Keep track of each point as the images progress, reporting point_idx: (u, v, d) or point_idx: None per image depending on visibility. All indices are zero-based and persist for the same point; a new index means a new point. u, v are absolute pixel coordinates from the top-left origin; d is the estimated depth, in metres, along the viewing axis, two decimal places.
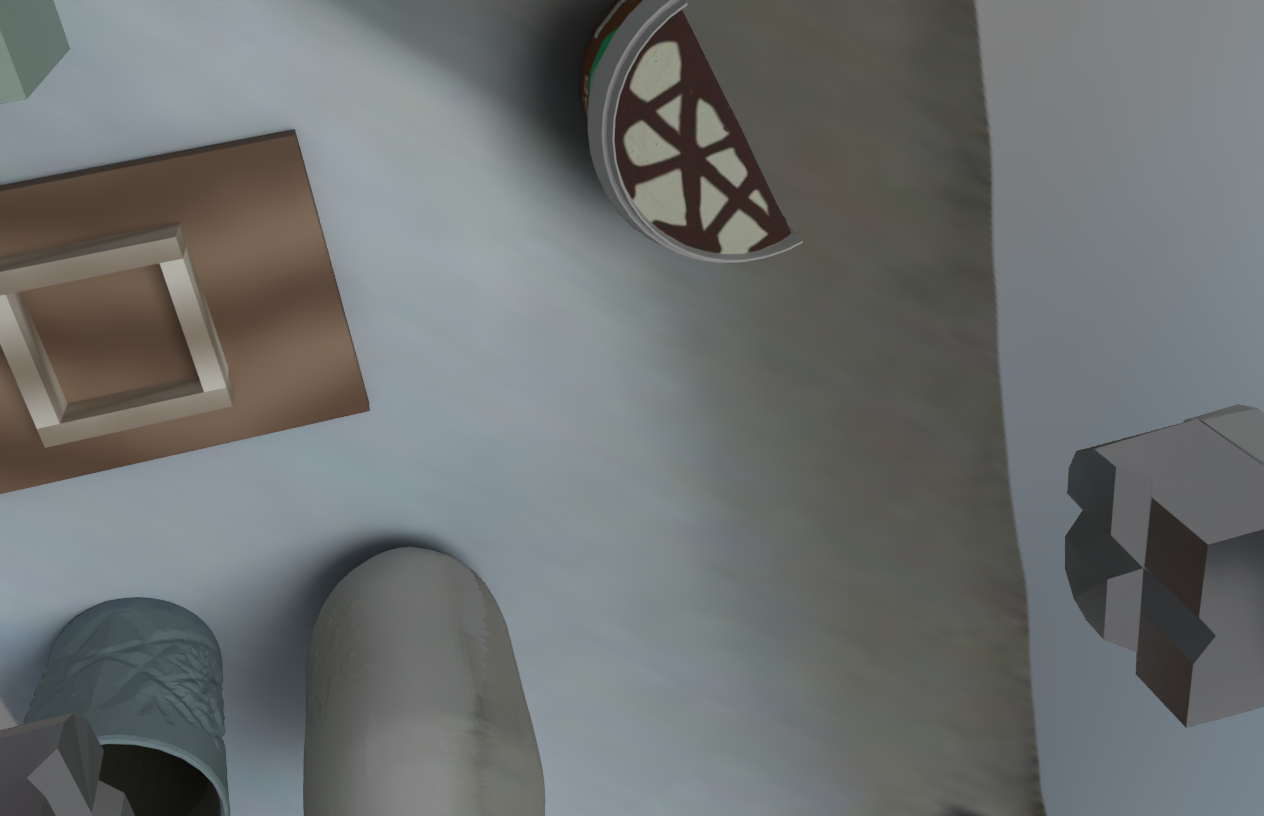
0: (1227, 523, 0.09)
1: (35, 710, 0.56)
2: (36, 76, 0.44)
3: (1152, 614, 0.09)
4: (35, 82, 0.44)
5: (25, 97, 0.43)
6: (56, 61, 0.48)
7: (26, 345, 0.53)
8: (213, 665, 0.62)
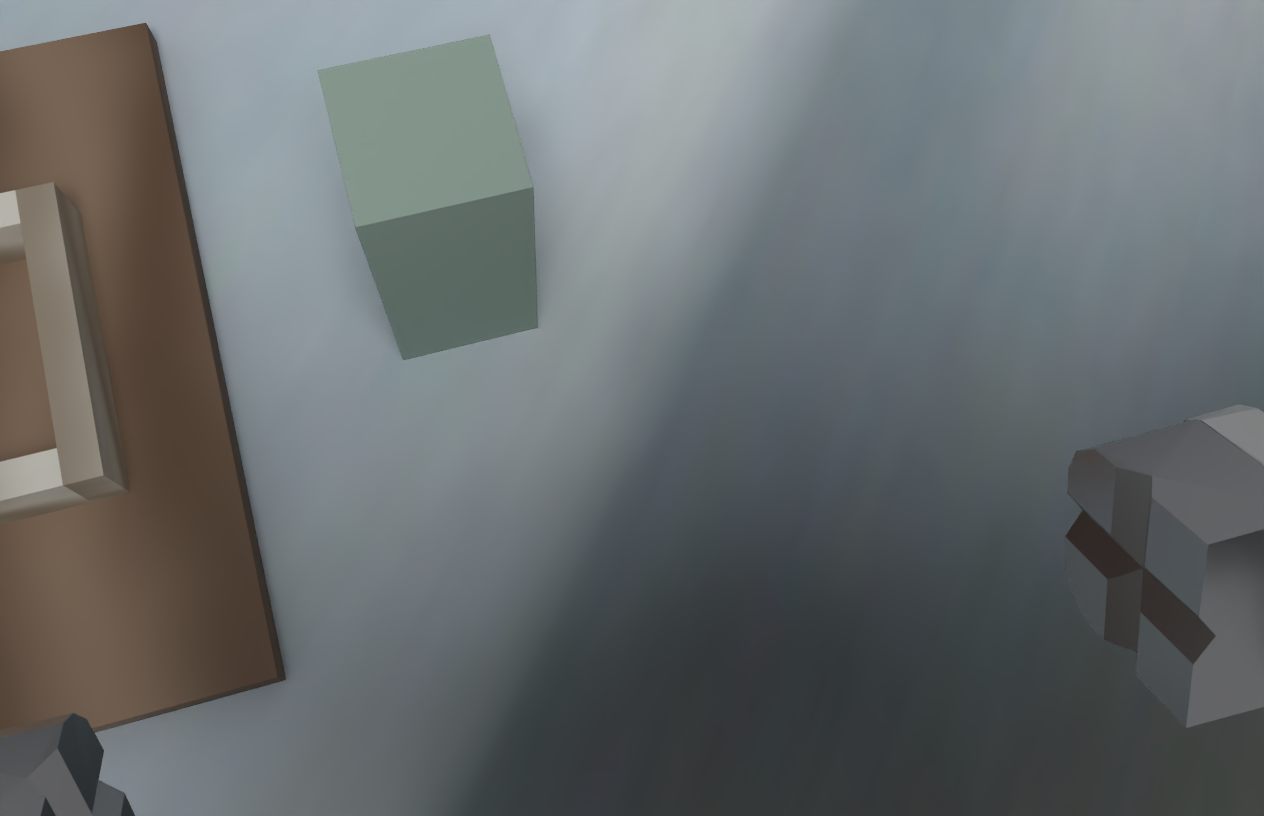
0: (1226, 523, 0.09)
1: None
2: (382, 267, 0.29)
3: (1152, 614, 0.09)
4: (374, 261, 0.28)
5: (357, 226, 0.26)
6: (393, 323, 0.32)
7: None
8: None
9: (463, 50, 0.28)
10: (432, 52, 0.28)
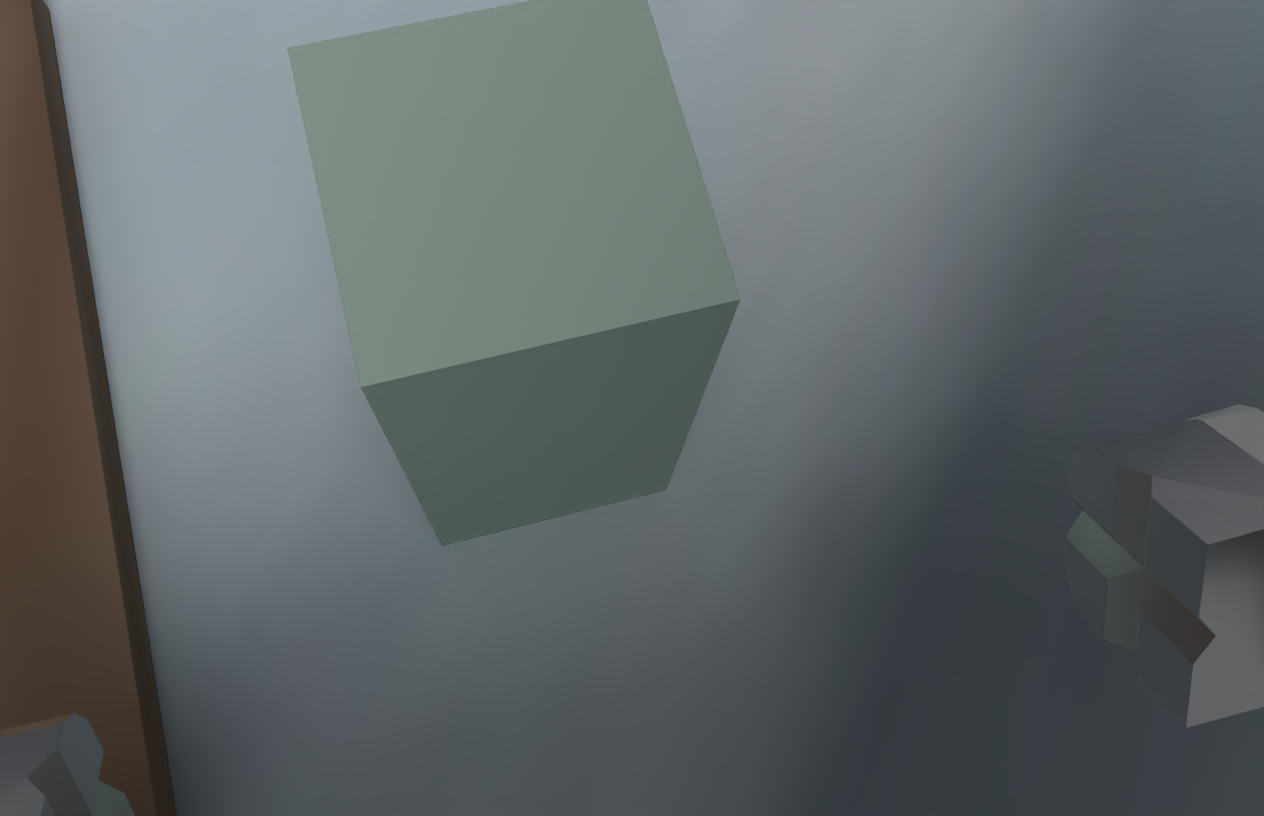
0: (1227, 523, 0.09)
1: None
2: (415, 441, 0.14)
3: (1152, 615, 0.09)
4: (400, 434, 0.14)
5: (366, 385, 0.12)
6: (429, 508, 0.18)
7: None
8: None
9: (589, 10, 0.14)
10: (525, 12, 0.14)
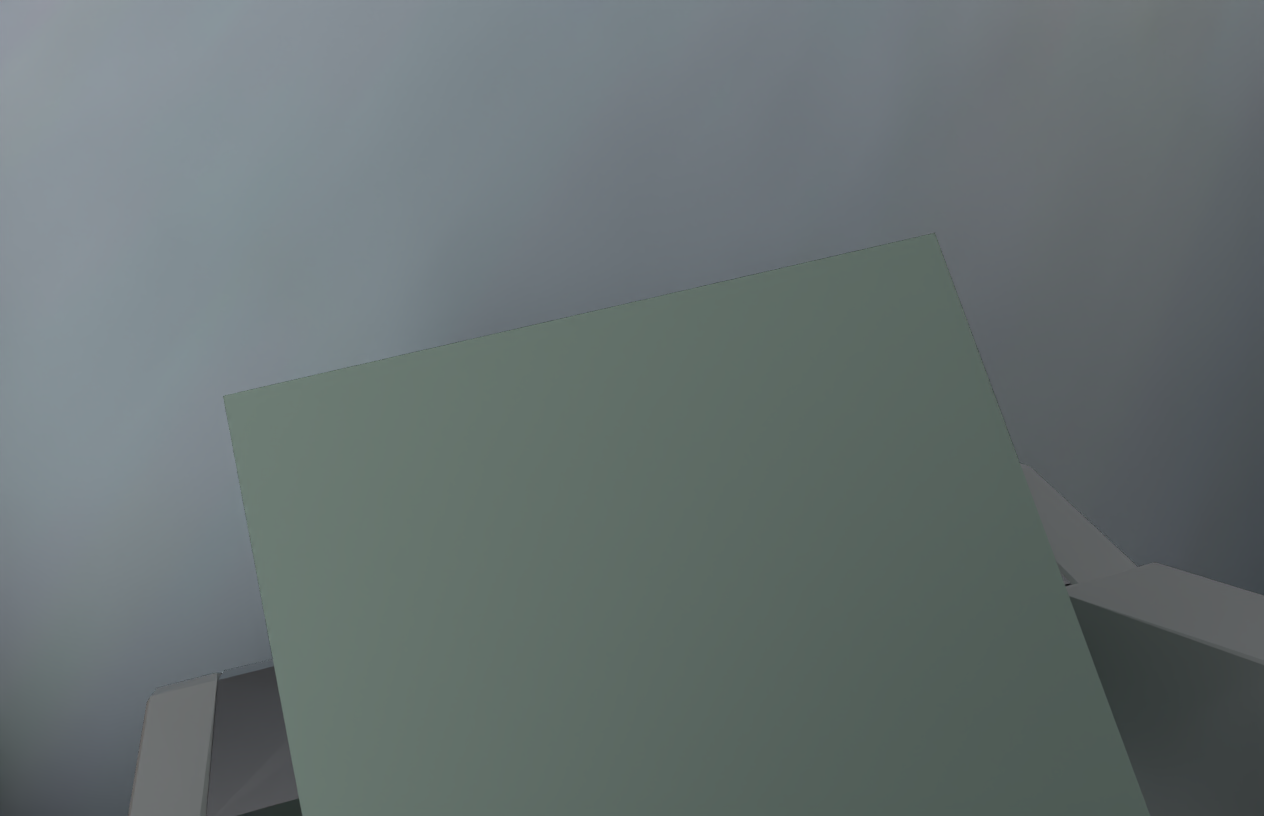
0: None
1: None
2: None
3: None
4: None
5: None
6: None
7: None
8: None
9: (837, 301, 0.07)
10: (712, 309, 0.07)
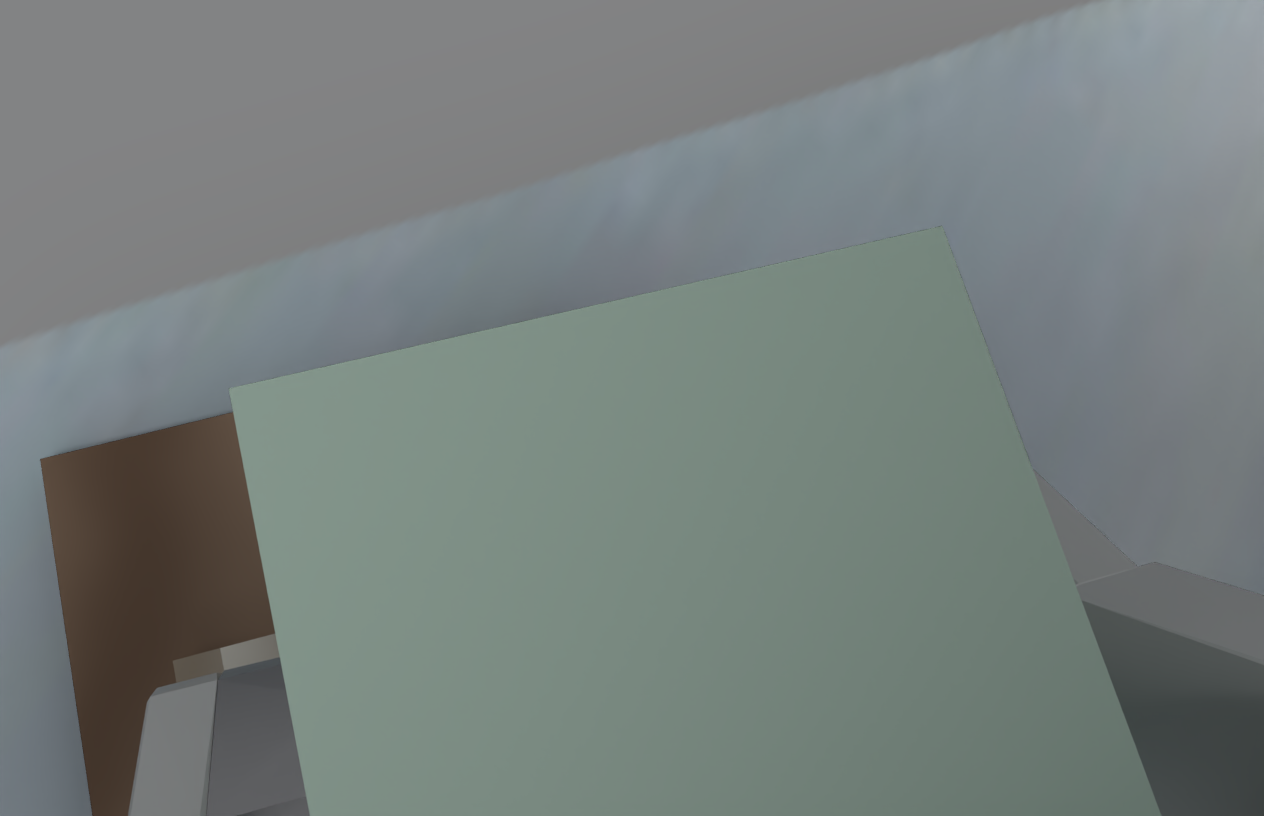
0: None
1: None
2: None
3: None
4: None
5: None
6: None
7: None
8: None
9: (845, 295, 0.07)
10: (719, 301, 0.07)
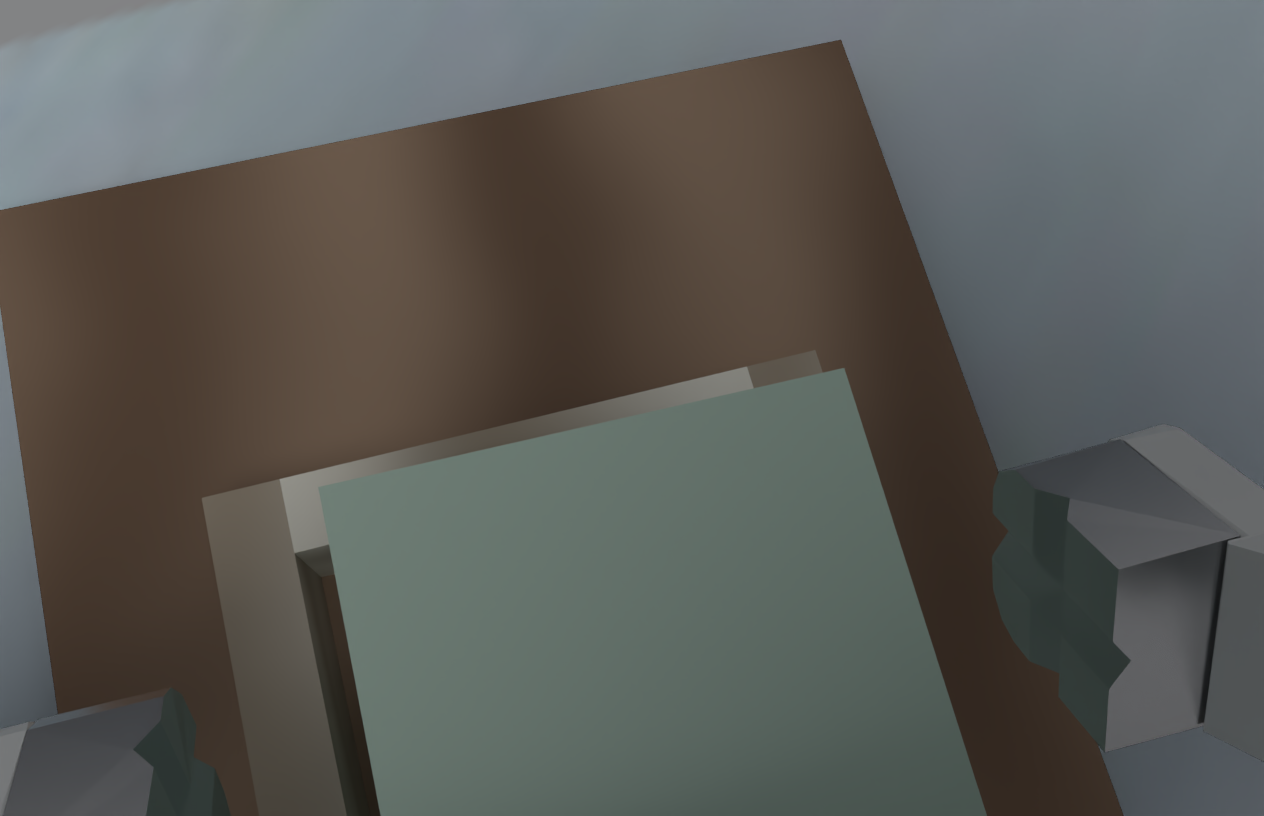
0: (1139, 548, 0.09)
1: None
2: None
3: (1071, 637, 0.09)
4: None
5: None
6: None
7: None
8: None
9: (770, 420, 0.09)
10: (675, 425, 0.09)
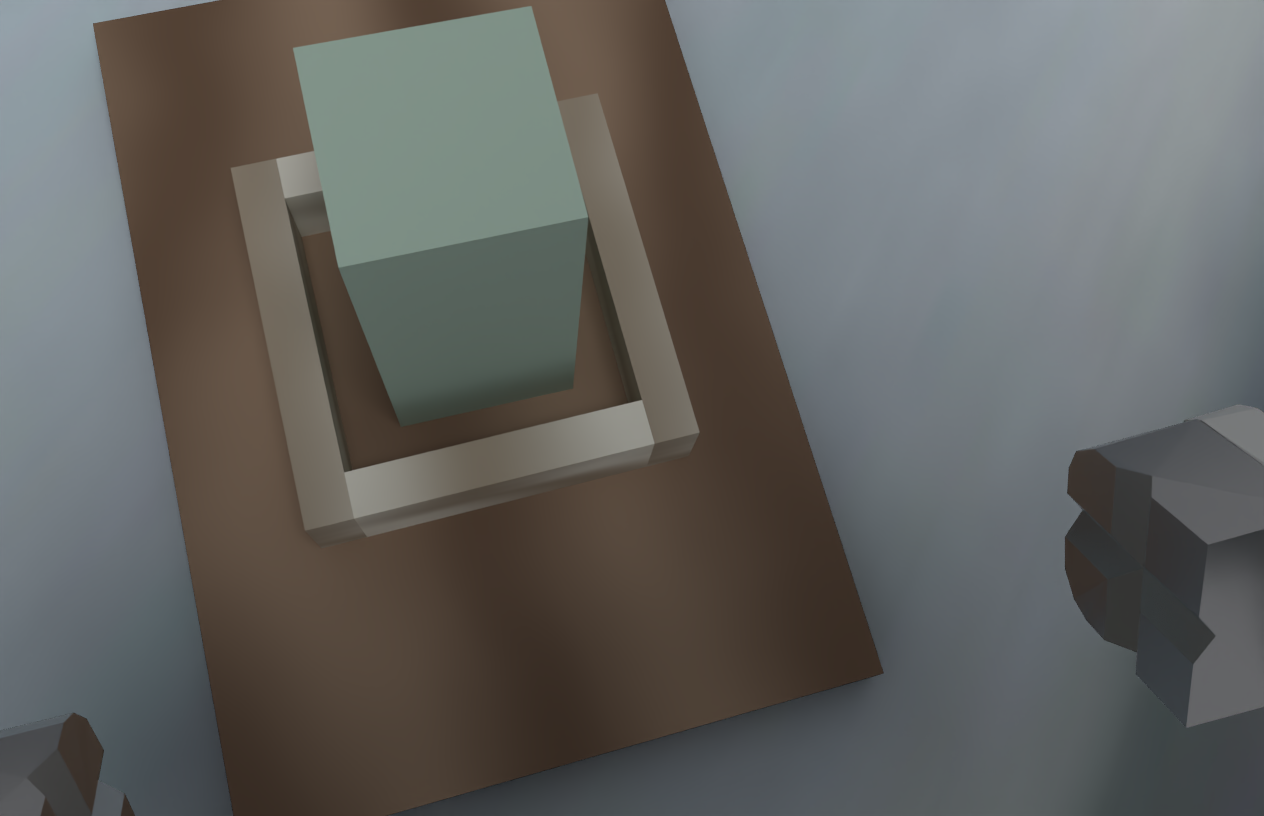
0: (1226, 523, 0.09)
1: None
2: (376, 318, 0.21)
3: (1151, 614, 0.09)
4: (365, 311, 0.21)
5: (342, 267, 0.19)
6: (389, 385, 0.25)
7: None
8: None
9: (495, 26, 0.20)
10: (452, 27, 0.20)
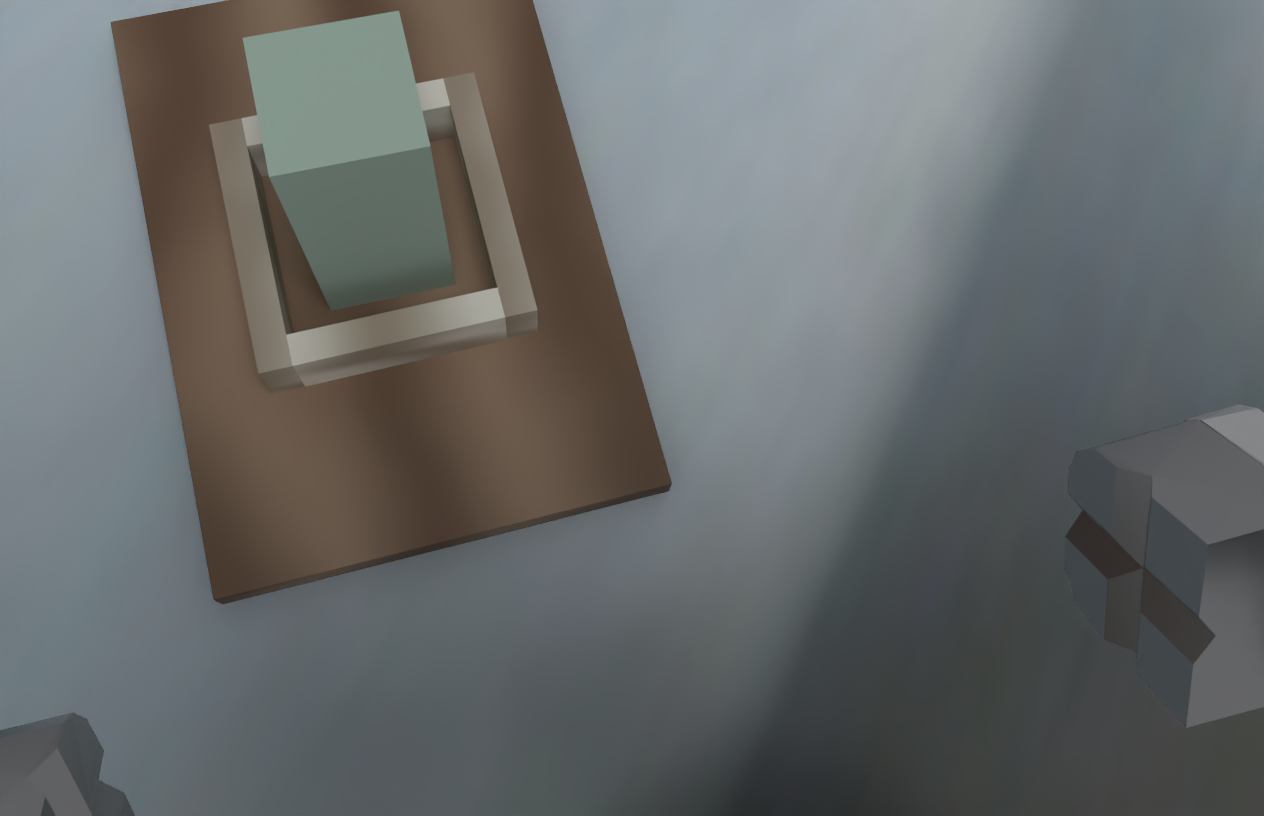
0: (1227, 523, 0.09)
1: None
2: (299, 217, 0.32)
3: (1152, 614, 0.09)
4: (291, 210, 0.32)
5: (271, 176, 0.30)
6: (316, 273, 0.35)
7: None
8: None
9: (375, 23, 0.31)
10: (346, 24, 0.31)
